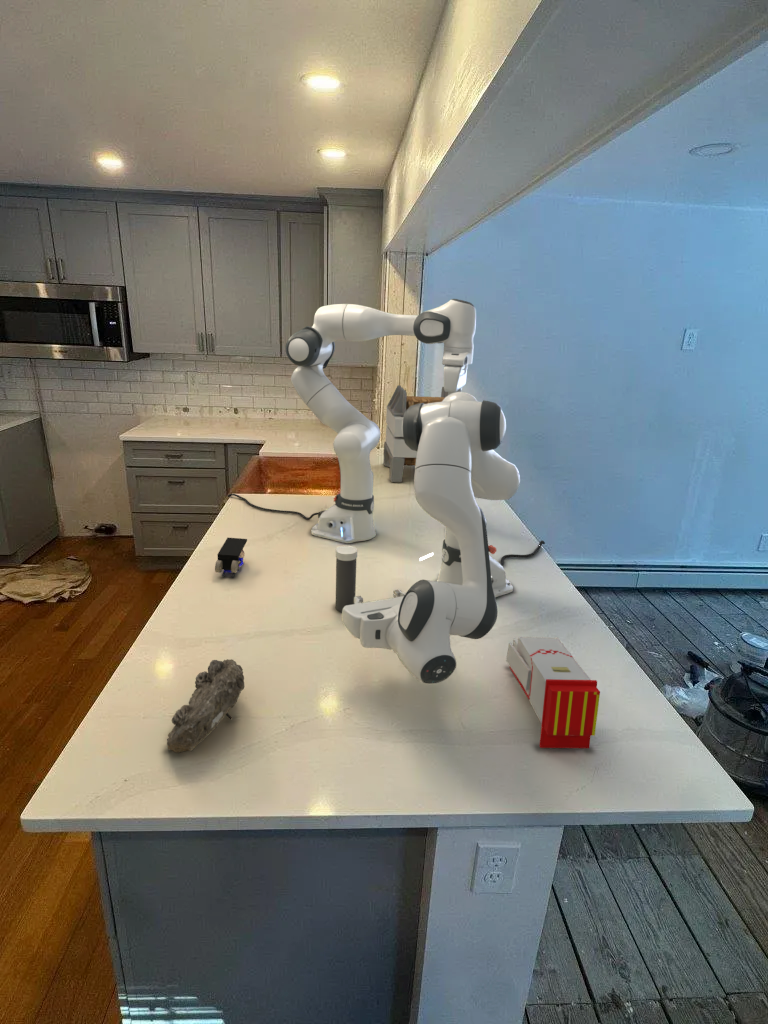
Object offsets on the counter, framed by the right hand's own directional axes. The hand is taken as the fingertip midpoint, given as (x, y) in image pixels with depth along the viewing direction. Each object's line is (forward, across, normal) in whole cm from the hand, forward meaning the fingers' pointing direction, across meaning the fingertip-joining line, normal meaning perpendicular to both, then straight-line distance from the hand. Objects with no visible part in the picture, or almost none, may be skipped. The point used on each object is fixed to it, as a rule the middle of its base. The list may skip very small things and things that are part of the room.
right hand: (376, 595), depth 127 cm
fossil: (-11, +38, +14) cm, 42 cm away
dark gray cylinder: (+21, 0, +14) cm, 25 cm away
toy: (-28, -26, +14) cm, 41 cm away
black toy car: (+53, +24, +14) cm, 60 cm away
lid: (+21, 0, -2) cm, 21 cm away
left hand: (+49, -44, -34) cm, 74 cm away
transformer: (+133, -77, +14) cm, 154 cm away
